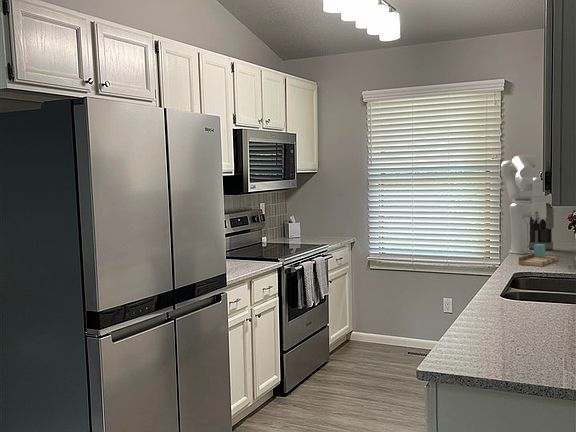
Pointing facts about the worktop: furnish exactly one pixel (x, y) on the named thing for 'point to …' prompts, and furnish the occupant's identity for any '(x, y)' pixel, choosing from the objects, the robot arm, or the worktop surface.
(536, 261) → the board
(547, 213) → the device
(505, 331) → the worktop surface
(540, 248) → the teal upright block
